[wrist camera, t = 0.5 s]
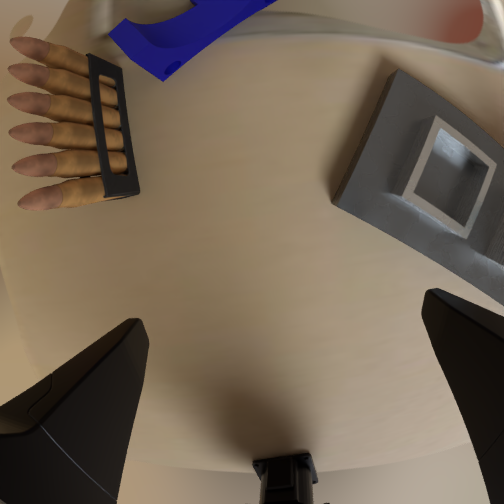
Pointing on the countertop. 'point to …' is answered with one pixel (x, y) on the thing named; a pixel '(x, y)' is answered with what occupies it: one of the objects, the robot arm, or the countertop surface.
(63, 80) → the ammunition clip
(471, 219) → the grey peg holder base
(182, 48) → the cable clip
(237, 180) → the countertop surface
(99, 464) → the robot arm
